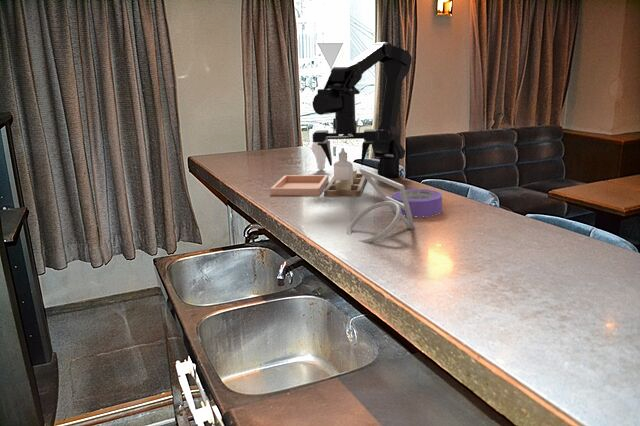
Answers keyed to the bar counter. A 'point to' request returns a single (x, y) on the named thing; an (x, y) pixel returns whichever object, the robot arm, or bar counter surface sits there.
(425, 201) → the tape roll
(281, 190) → the tray
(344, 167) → the eye dropper bottle
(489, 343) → the bar counter surface
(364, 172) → the wire frame
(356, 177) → the block
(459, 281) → the bar counter surface
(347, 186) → the block
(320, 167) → the lightbulb
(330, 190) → the frame
